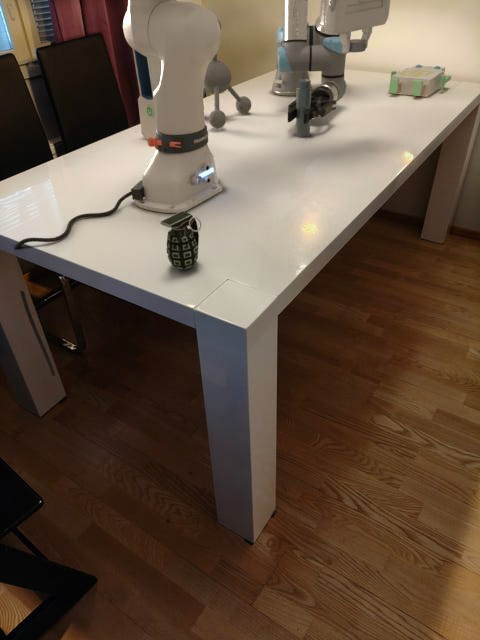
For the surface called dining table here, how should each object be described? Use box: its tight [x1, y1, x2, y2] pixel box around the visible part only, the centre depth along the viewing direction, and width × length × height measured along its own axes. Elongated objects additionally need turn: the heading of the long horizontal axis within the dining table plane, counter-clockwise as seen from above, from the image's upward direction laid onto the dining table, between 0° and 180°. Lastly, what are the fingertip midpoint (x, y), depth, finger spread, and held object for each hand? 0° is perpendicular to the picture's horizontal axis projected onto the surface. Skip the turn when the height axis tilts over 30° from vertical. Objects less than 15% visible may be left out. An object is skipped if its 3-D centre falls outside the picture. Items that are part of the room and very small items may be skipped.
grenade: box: [159, 211, 202, 271], centre depth 88 cm, size 7×6×10 cm
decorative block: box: [388, 64, 452, 98], centre depth 182 cm, size 26×6×20 cm
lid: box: [349, 38, 367, 53], centre depth 120 cm, size 5×5×2 cm
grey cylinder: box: [295, 78, 312, 138], centre depth 144 cm, size 4×4×15 cm
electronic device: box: [132, 48, 162, 140], centre depth 143 cm, size 12×8×30 cm, turn 47°
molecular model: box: [203, 18, 252, 129], centre depth 157 cm, size 24×22×30 cm
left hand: (354, 50), depth 121 cm, fingers closed on lid, 5 cm apart
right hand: (296, 118), depth 141 cm, fingers closed on grey cylinder, 4 cm apart
